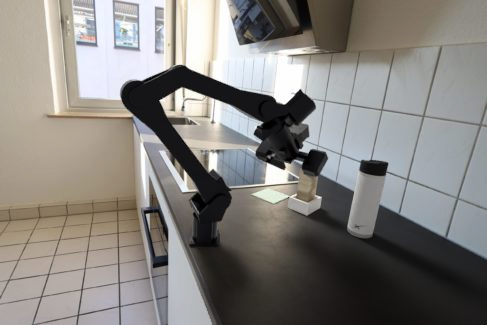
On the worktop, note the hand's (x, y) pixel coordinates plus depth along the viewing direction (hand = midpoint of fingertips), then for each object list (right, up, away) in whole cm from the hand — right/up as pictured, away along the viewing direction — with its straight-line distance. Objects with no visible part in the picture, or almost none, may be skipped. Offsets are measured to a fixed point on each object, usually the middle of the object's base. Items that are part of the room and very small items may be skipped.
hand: (298, 173), depth 79 cm
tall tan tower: (+3, -11, +8) cm, 14 cm away
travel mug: (+15, -16, -4) cm, 22 cm away
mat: (-6, -8, +15) cm, 18 cm away
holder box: (+3, -11, +8) cm, 14 cm away
